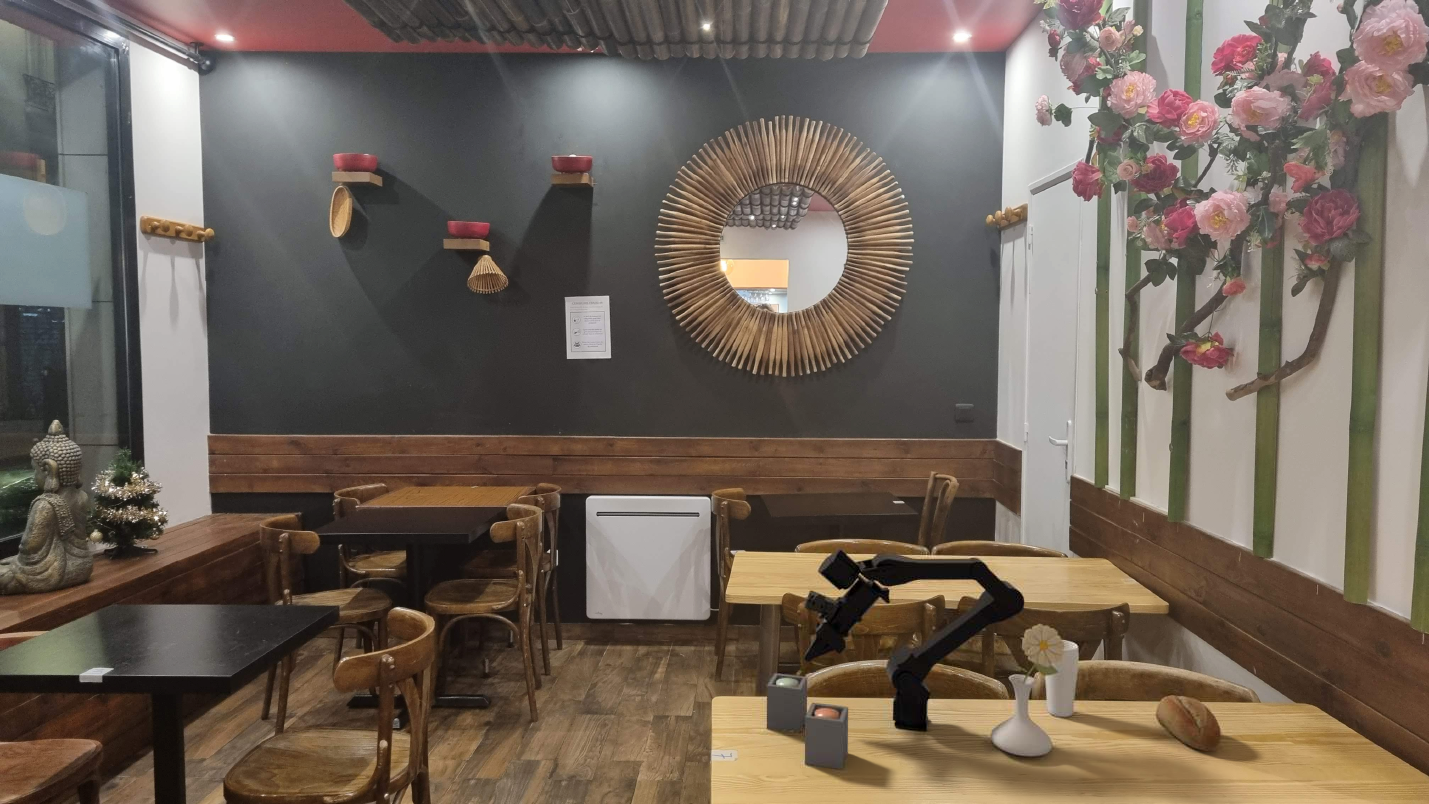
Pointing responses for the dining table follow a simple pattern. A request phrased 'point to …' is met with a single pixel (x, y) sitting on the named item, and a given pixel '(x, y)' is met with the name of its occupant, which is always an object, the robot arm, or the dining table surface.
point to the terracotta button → (827, 713)
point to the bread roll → (1189, 722)
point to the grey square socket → (786, 704)
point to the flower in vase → (1020, 729)
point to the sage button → (787, 682)
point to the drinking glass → (1063, 682)
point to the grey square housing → (826, 737)
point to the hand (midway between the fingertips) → (805, 659)
